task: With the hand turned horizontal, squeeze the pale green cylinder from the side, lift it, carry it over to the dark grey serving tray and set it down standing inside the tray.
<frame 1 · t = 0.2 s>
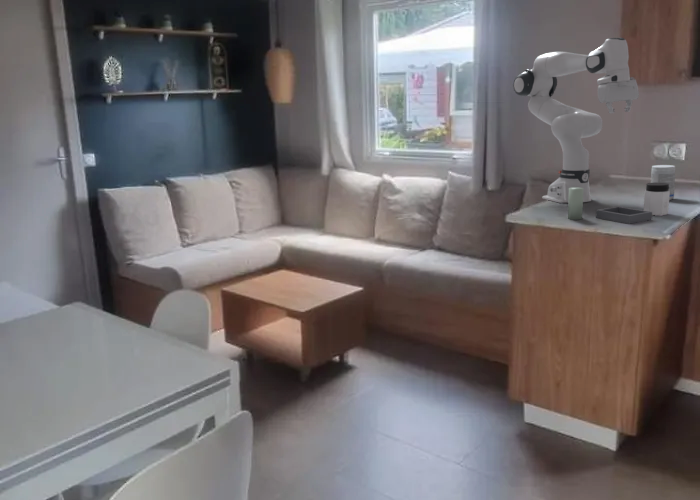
hand: (619, 112, 267), 39 cm above the table, tool pointing down, fingers open, 8 cm apart
tray: (623, 218, 253), on the table
jar: (655, 214, 259), on the table
pale green cylinder: (575, 218, 257), on the table
supplement tub: (661, 199, 290), on the table
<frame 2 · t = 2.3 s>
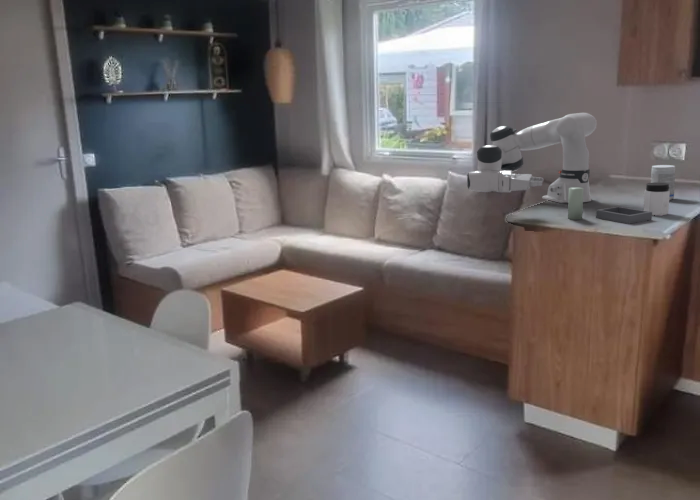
hand: (542, 181, 258), 15 cm above the table, tool horizontal, fingers open, 8 cm apart
nothing on the table moved.
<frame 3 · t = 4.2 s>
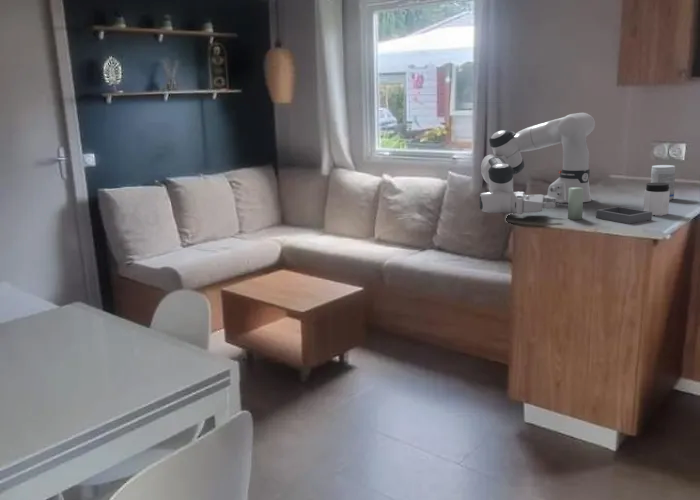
hand: (555, 202, 258), 6 cm above the table, tool horizontal, fingers open, 8 cm apart
nothing on the table moved.
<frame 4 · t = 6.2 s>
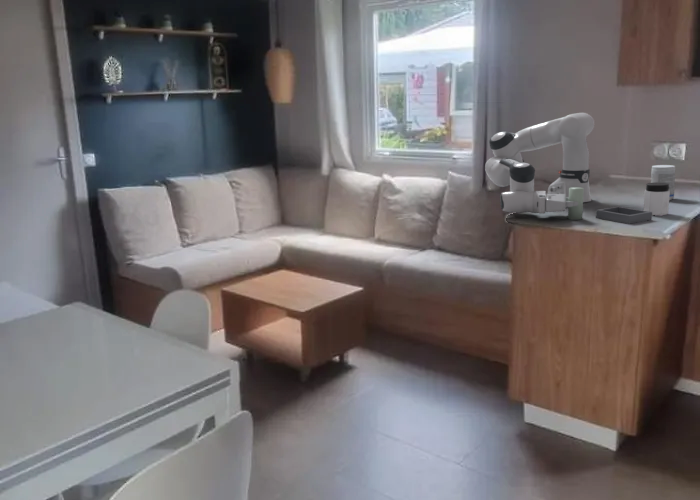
hand: (578, 202, 256), 7 cm above the table, tool horizontal, fingers closed on pale green cylinder, 5 cm apart
pale green cylinder: (575, 218, 257), on the table, touching gripper
everything else where it was.
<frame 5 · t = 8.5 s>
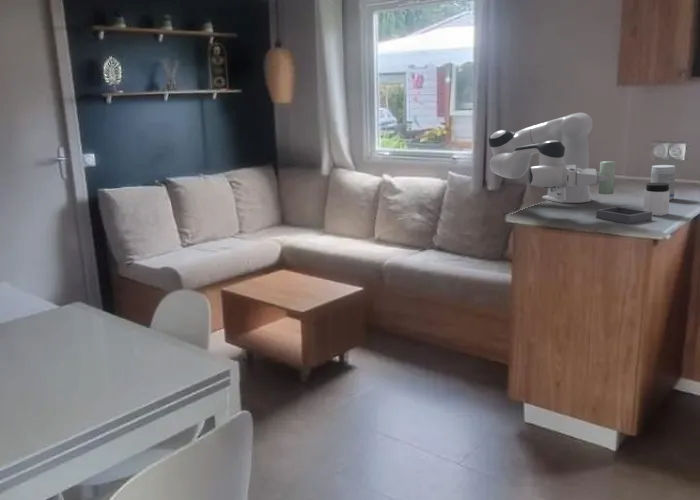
hand: (609, 176, 249), 17 cm above the table, tool horizontal, fingers closed on pale green cylinder, 5 cm apart
pale green cylinder: (605, 193, 251), point 10 cm above the table, touching gripper
everything else where it was.
when the fingers open (9 cm above the table, at t = 11.0 s): pale green cylinder drops 1 cm, resting on tray.
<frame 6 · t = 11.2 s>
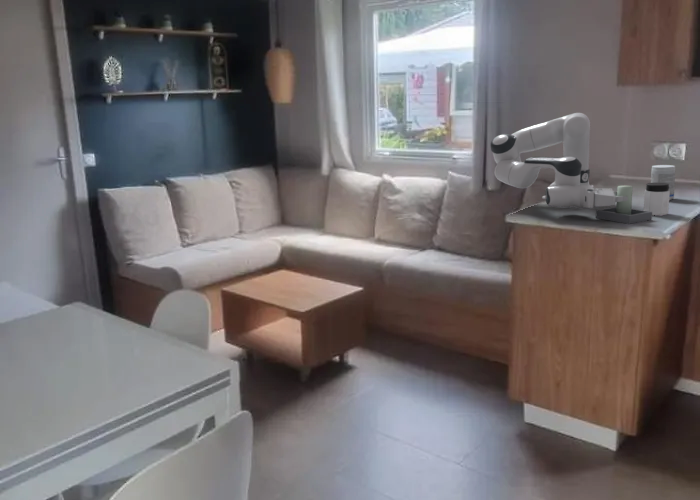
hand: (626, 196, 250), 9 cm above the table, tool horizontal, fingers open, 7 cm apart
pale green cylinder: (623, 217, 252), point 1 cm above the table, touching tray
everything else where it was.
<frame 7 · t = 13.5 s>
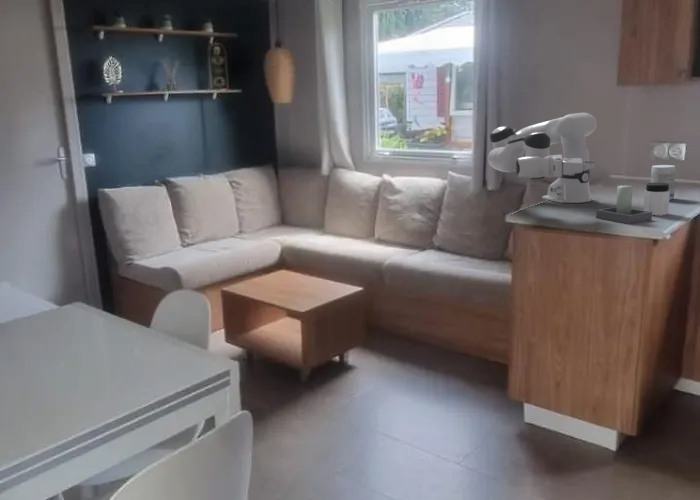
hand: (595, 164, 253), 21 cm above the table, tool horizontal, fingers open, 8 cm apart
nothing on the table moved.
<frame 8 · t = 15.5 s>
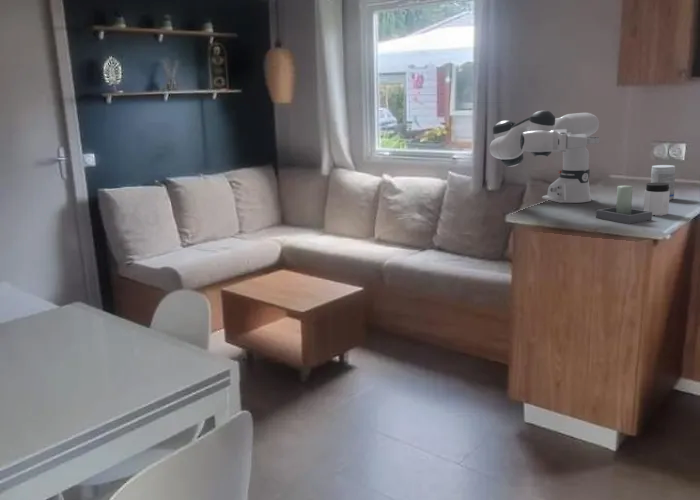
hand: (599, 139, 254), 30 cm above the table, tool horizontal, fingers open, 8 cm apart
nothing on the table moved.
at the end: pale green cylinder inside the target area on the tray (0.1 cm from its centre), point 0.6 cm above the tray's base; pale green cylinder tilted 0°; the gripper is holding nothing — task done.
